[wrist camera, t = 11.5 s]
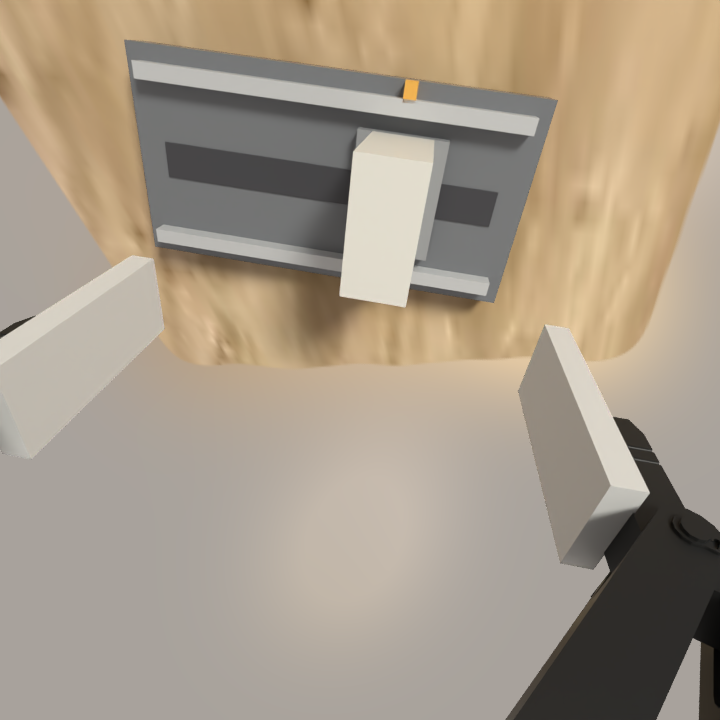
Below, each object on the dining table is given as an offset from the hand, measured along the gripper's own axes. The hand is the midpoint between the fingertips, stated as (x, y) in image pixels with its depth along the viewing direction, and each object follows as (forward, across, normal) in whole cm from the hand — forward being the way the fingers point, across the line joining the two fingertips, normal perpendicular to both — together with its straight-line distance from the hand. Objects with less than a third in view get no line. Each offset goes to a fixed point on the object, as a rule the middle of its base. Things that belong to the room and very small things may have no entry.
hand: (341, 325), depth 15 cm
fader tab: (+20, 0, 0) cm, 20 cm away
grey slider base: (+23, -5, 0) cm, 23 cm away
